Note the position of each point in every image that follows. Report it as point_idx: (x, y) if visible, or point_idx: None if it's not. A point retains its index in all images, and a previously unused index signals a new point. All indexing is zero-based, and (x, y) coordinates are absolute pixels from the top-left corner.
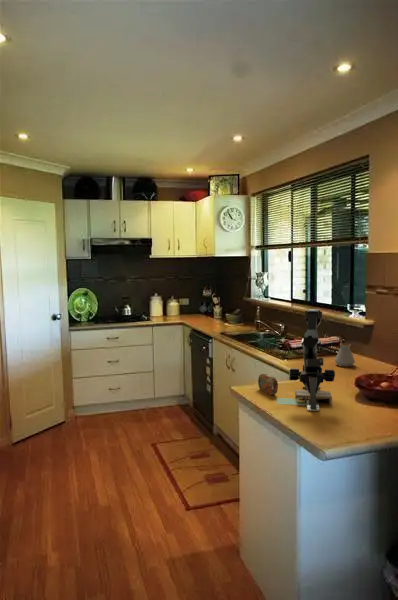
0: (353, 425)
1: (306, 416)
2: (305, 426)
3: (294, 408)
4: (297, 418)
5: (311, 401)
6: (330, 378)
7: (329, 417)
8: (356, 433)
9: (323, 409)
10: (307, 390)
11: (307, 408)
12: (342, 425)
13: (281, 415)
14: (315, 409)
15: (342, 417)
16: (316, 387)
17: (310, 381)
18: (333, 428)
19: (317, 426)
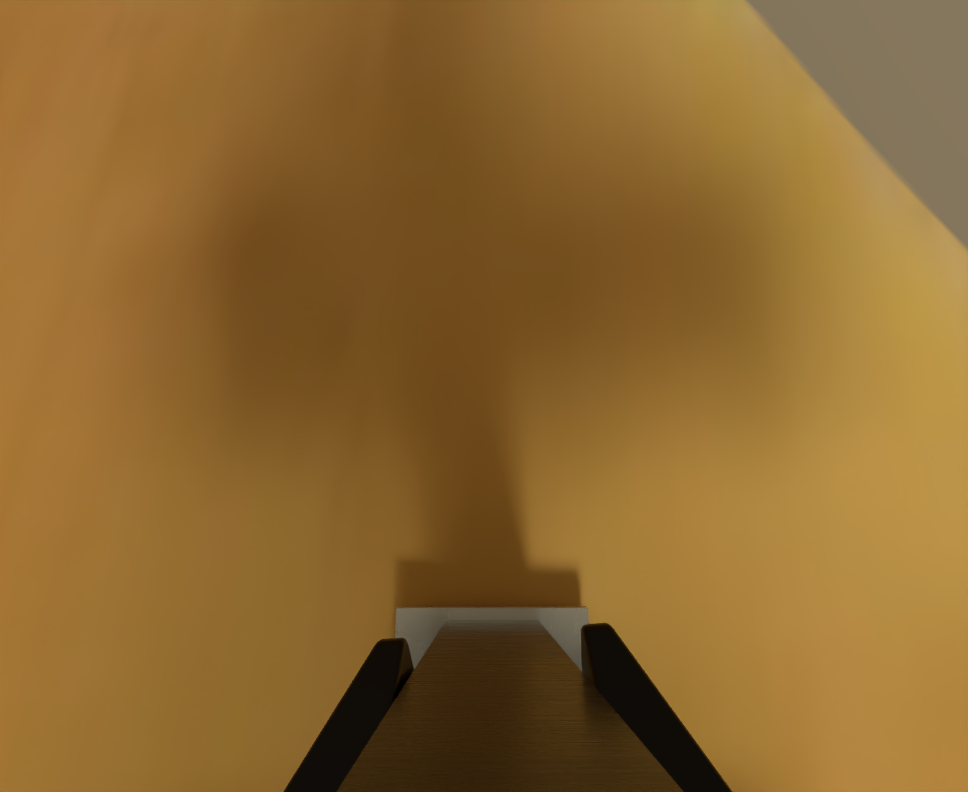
0: (71, 206)
1: (591, 384)
2: (594, 67)
3: (794, 724)
4: (702, 286)
5: (526, 637)
6: None
7: (293, 410)
8: (107, 13)
9: None
10: None
11: None
12: (191, 180)
13: (929, 352)
14: (460, 610)
15: (126, 446)
16: None
17: (621, 777)
18: (304, 80)
19: (465, 95)
